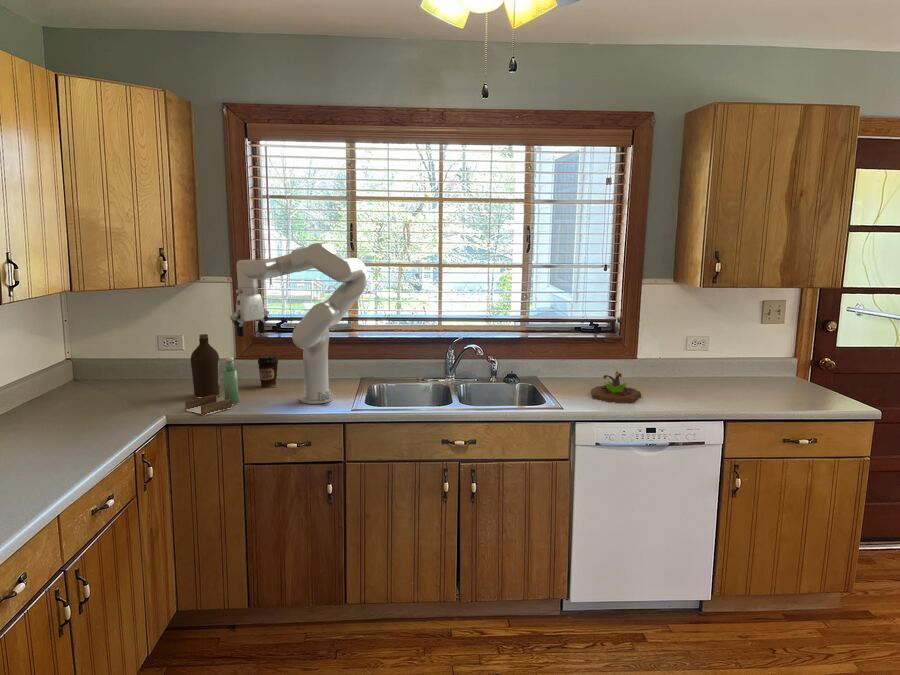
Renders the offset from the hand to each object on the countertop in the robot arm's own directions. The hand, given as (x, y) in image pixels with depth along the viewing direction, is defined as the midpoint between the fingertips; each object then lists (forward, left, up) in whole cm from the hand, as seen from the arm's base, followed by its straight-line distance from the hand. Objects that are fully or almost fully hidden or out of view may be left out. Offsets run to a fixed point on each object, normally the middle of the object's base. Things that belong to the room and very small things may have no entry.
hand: (251, 334), depth 254 cm
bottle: (-3, +13, -25) cm, 28 cm away
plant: (-118, -86, -26) cm, 149 cm away
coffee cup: (+7, -13, -25) cm, 29 cm away
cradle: (-3, +23, -25) cm, 34 cm away
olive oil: (+14, +12, -25) cm, 31 cm away
